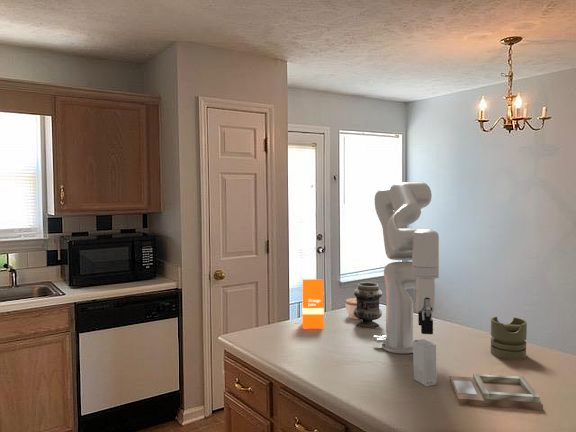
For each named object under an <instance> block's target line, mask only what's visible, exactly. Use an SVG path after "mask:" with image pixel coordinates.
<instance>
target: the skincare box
mask: <svg viewBox="0 0 576 432" xmlns="http://www.w3.org/2000/svg"><path fill="white" fill-rule="evenodd" d="M412 355H413V357H412V359H413V360H412V362H413V363H412V364H413V380H414V381H416V382H418V383H420V384H421V385H423V386H425V387H430V386H435V385H437V383H438V382H437V345H436V343H433V342H431V341H428V340H426V339H424V338H423V339H415V340H414V339H413V353H412Z"/></svg>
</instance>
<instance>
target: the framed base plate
mask: <svg viewBox="0 0 576 432" xmlns="http://www.w3.org/2000/svg"><path fill="white" fill-rule="evenodd" d="M449 383H450V386H451V388H452V391H453V394H454V396H455V399H456V402H457V404H458V405H466V406H468V405H469V406H479V407H491V408H493V407H494V408H495V407H496V408H508V409H519V410H520V409H522V410H534V411H543V410H544V404H543V403H542V401H541V398H540V395H539V394H538V393H537V392H536V390H535V389H534V388H533V387H532V385H531V384H530V383H529V382H528V380H527V379H526V377H524V376H519V375H518V376H517V375H516V376H515V375H514V376H513V375H502V374H501V375H500V374H485V373H482V374H481V373H472V376H470V377H468V376H456V375H455V376H454V375H449Z"/></svg>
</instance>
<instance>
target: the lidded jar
mask: <svg viewBox="0 0 576 432" xmlns="http://www.w3.org/2000/svg"><path fill="white" fill-rule="evenodd" d="M344 302H345V303H344V304H345V310H346V313H347V315H348V316H349V317H350V318H351V319H354V320H360V319H359V318H357V317H356V316H355V315H354V309H355V308H356V307H357V297H356V296H355V297H350V298H346V299H345V300H344Z"/></svg>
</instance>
